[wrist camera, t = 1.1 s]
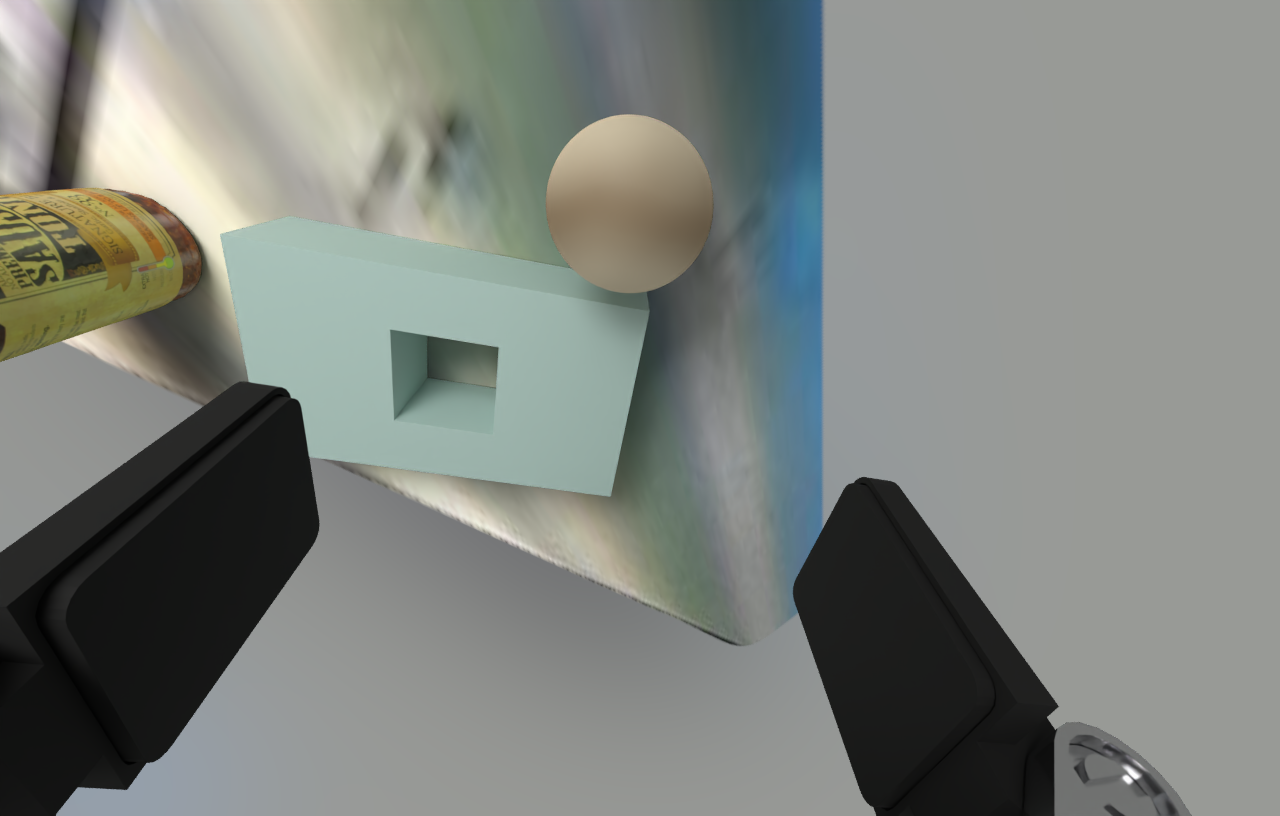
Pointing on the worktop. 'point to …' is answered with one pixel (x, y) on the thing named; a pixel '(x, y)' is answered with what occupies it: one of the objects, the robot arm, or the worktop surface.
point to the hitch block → (397, 353)
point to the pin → (629, 203)
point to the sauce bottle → (86, 263)
